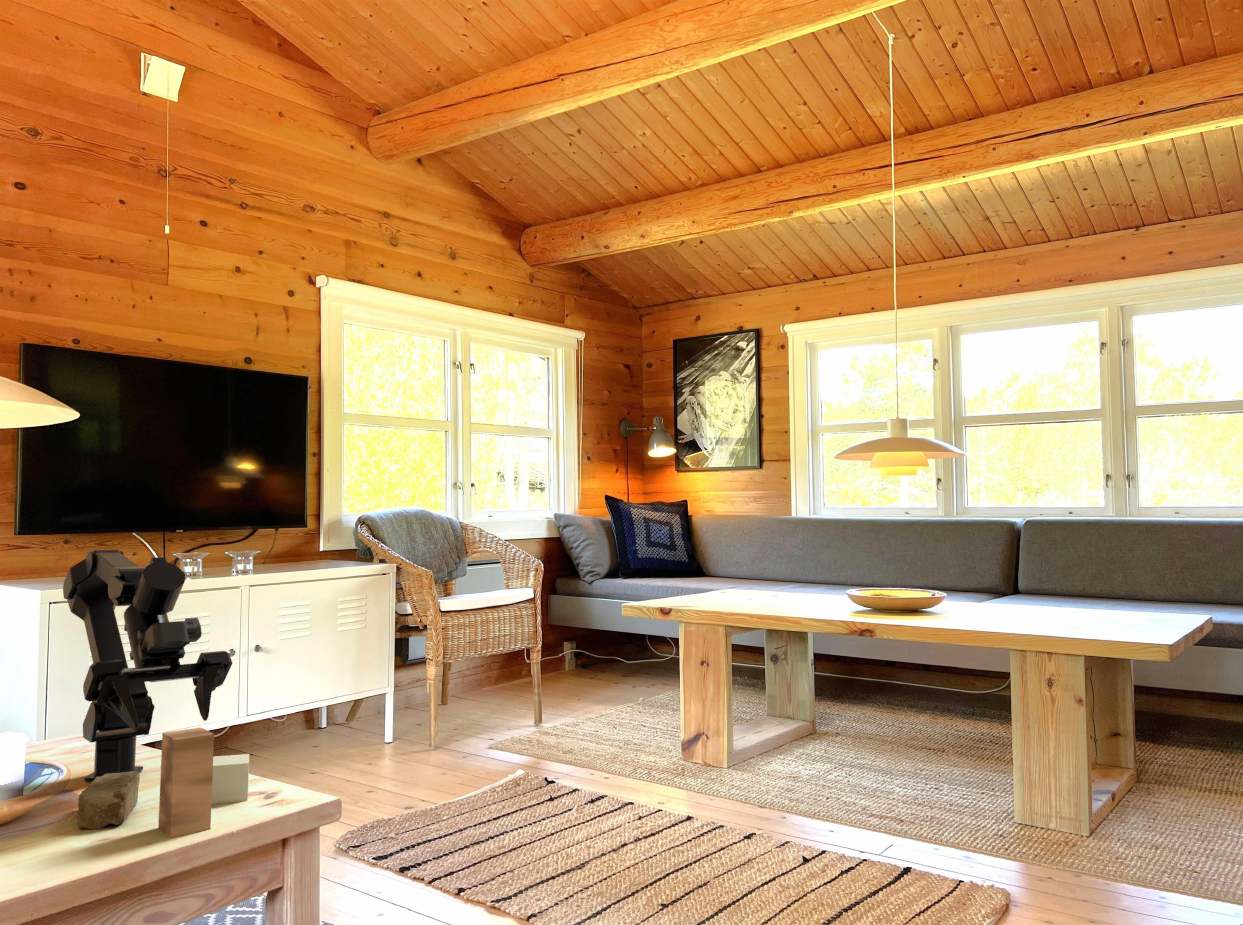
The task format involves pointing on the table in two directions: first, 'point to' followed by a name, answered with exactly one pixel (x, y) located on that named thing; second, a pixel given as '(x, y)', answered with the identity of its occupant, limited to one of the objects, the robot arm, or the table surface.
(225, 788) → the sage cube
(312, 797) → the table surface
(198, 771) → the oak pillar
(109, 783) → the stone block
